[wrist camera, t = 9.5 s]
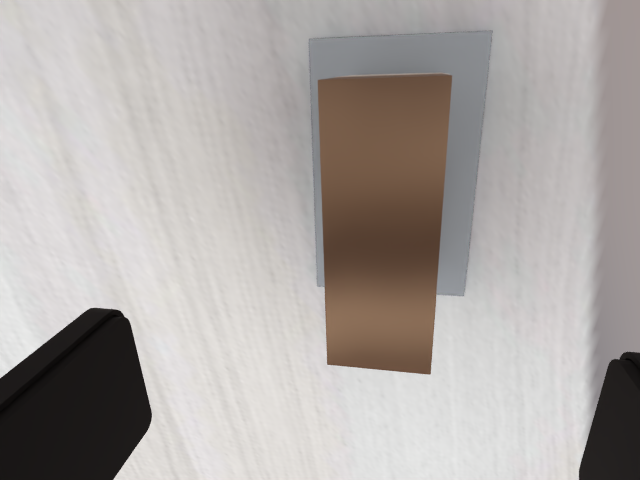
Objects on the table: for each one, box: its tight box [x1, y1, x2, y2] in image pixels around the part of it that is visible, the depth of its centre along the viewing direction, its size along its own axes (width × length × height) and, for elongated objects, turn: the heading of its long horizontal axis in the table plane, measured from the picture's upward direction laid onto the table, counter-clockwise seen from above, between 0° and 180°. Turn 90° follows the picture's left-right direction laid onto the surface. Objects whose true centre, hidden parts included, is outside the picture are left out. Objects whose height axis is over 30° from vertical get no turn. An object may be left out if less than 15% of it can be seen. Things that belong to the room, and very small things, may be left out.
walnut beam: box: [318, 73, 452, 374], centre depth 19 cm, size 12×4×5 cm, turn 2°
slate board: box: [309, 31, 492, 296], centre depth 27 cm, size 16×10×1 cm, turn 1°
